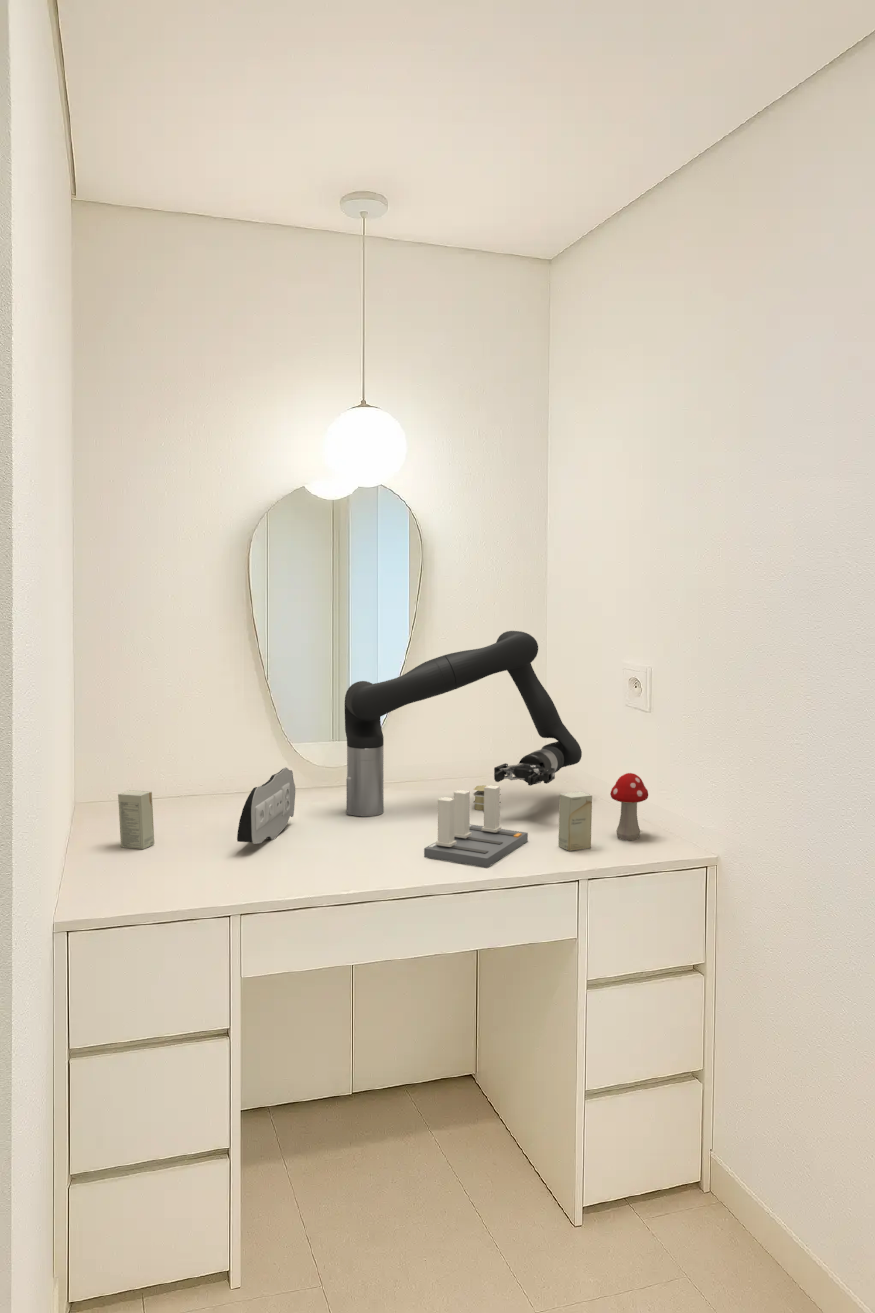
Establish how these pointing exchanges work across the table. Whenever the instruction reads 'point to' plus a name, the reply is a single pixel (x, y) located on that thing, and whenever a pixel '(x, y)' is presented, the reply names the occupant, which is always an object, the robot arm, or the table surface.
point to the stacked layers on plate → (479, 797)
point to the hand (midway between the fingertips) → (512, 779)
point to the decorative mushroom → (629, 804)
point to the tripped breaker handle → (491, 808)
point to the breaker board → (469, 836)
